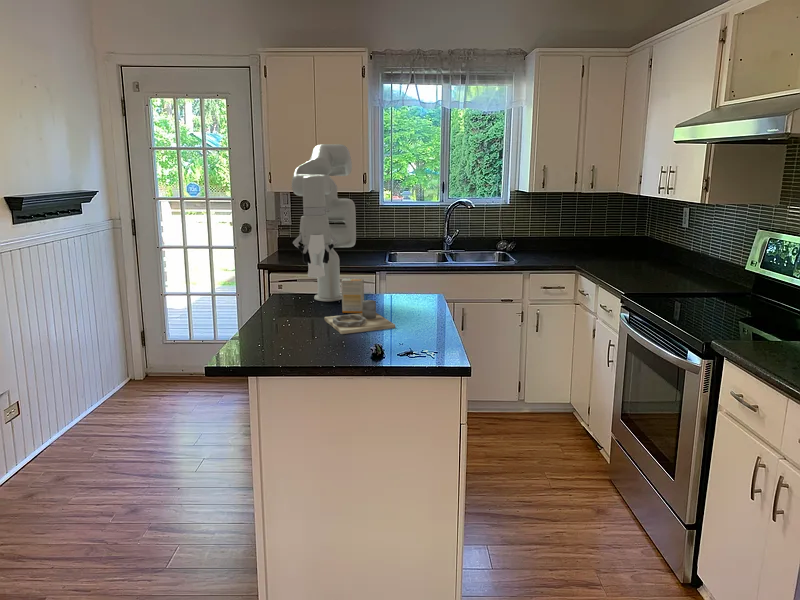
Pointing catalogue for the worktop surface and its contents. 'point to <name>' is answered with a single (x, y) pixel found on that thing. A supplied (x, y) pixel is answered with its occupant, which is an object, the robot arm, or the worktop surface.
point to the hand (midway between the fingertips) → (316, 263)
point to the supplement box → (352, 295)
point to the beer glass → (316, 256)
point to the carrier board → (364, 327)
